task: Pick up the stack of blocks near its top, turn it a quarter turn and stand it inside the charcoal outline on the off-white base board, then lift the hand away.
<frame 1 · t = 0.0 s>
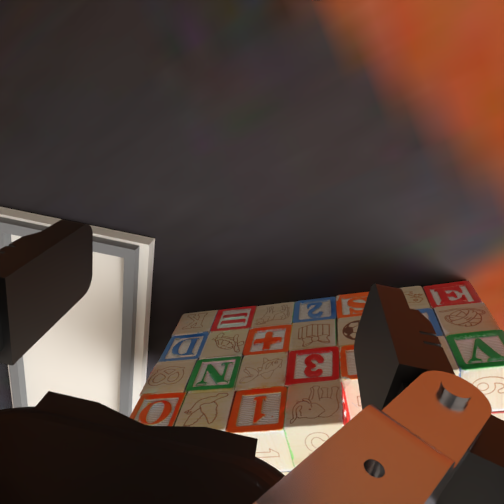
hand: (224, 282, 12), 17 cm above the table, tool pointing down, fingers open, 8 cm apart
base board: (80, 358, 37), on the table
stack of blocks: (321, 329, 33), on the table
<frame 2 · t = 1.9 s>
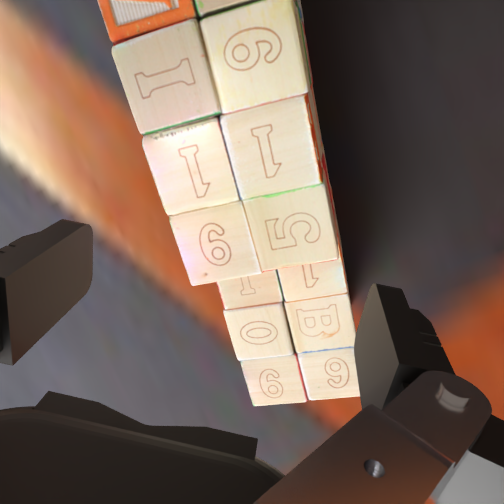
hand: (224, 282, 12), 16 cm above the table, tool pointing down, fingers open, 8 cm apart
stack of blocks: (279, 168, 27), on the table
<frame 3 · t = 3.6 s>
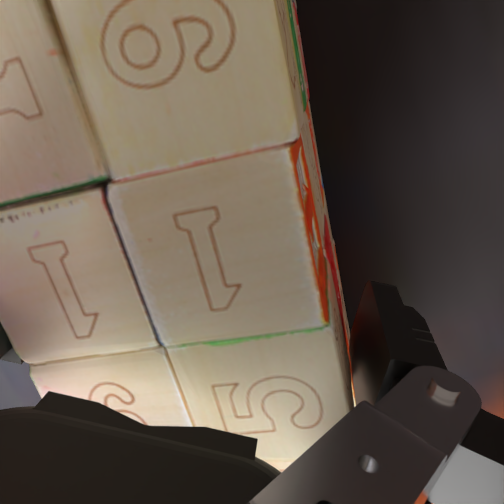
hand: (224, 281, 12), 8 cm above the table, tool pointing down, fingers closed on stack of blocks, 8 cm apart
stack of blocks: (261, 214, 20), on the table, touching gripper
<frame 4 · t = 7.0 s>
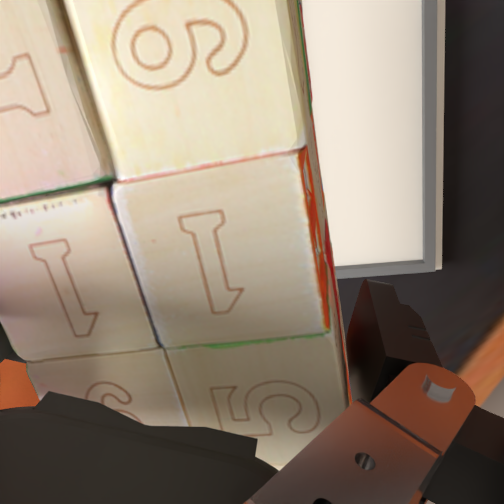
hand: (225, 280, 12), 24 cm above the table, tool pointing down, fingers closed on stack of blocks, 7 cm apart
base board: (357, 115, 33), on the table
stack of blocks: (260, 214, 20), point 17 cm above the table, touching gripper
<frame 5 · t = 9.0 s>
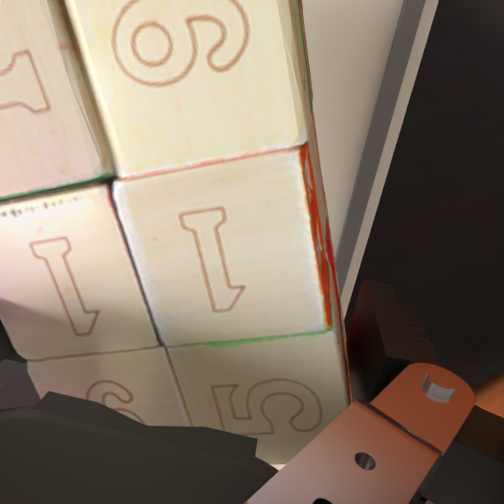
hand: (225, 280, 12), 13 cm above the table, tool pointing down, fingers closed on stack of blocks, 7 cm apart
base board: (270, 176, 24), on the table
stack of blocks: (260, 214, 19), point 5 cm above the table, touching gripper
when the fingers open (10 cm above the table, at t = 10.6 s): stack of blocks stays where it is, resting on base board.
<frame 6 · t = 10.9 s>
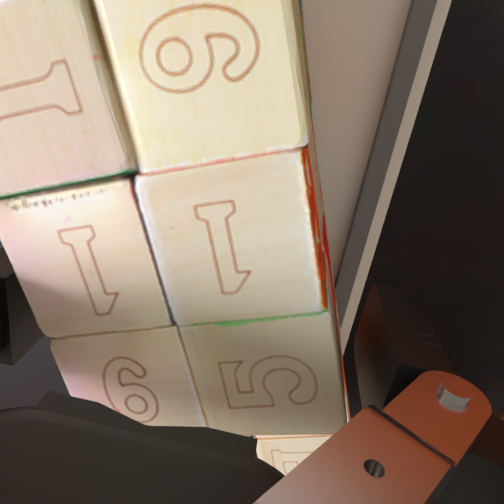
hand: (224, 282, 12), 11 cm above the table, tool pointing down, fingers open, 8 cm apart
base board: (264, 188, 22), on the table
stack of blocks: (260, 211, 20), point 2 cm above the table, touching base board
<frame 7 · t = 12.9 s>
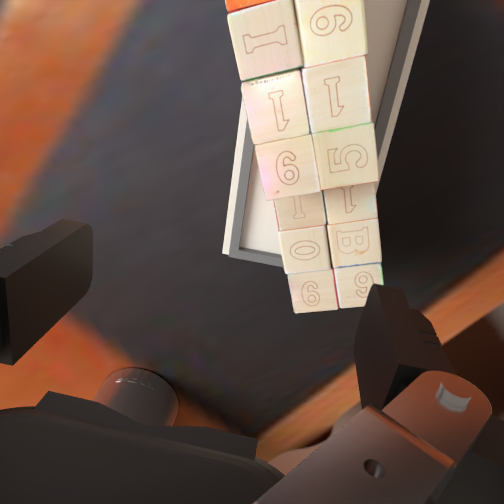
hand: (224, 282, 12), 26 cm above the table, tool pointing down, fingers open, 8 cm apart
base board: (316, 117, 34), on the table
stack of blocks: (316, 128, 33), point 2 cm above the table, touching base board
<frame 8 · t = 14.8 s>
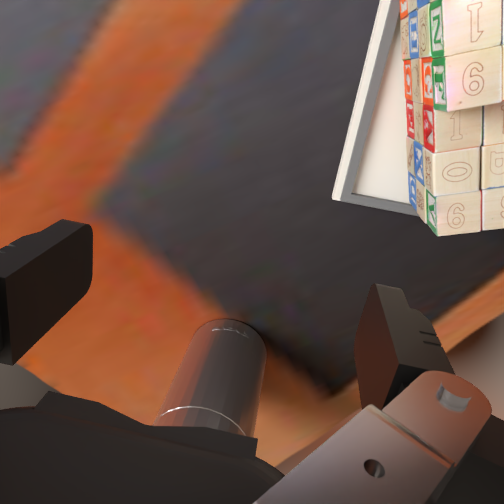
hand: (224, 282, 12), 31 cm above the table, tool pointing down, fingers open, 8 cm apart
base board: (436, 64, 37), on the table
stack of blocks: (441, 72, 35), point 2 cm above the table, touching base board
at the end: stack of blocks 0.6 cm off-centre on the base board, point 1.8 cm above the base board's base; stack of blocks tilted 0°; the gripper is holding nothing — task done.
